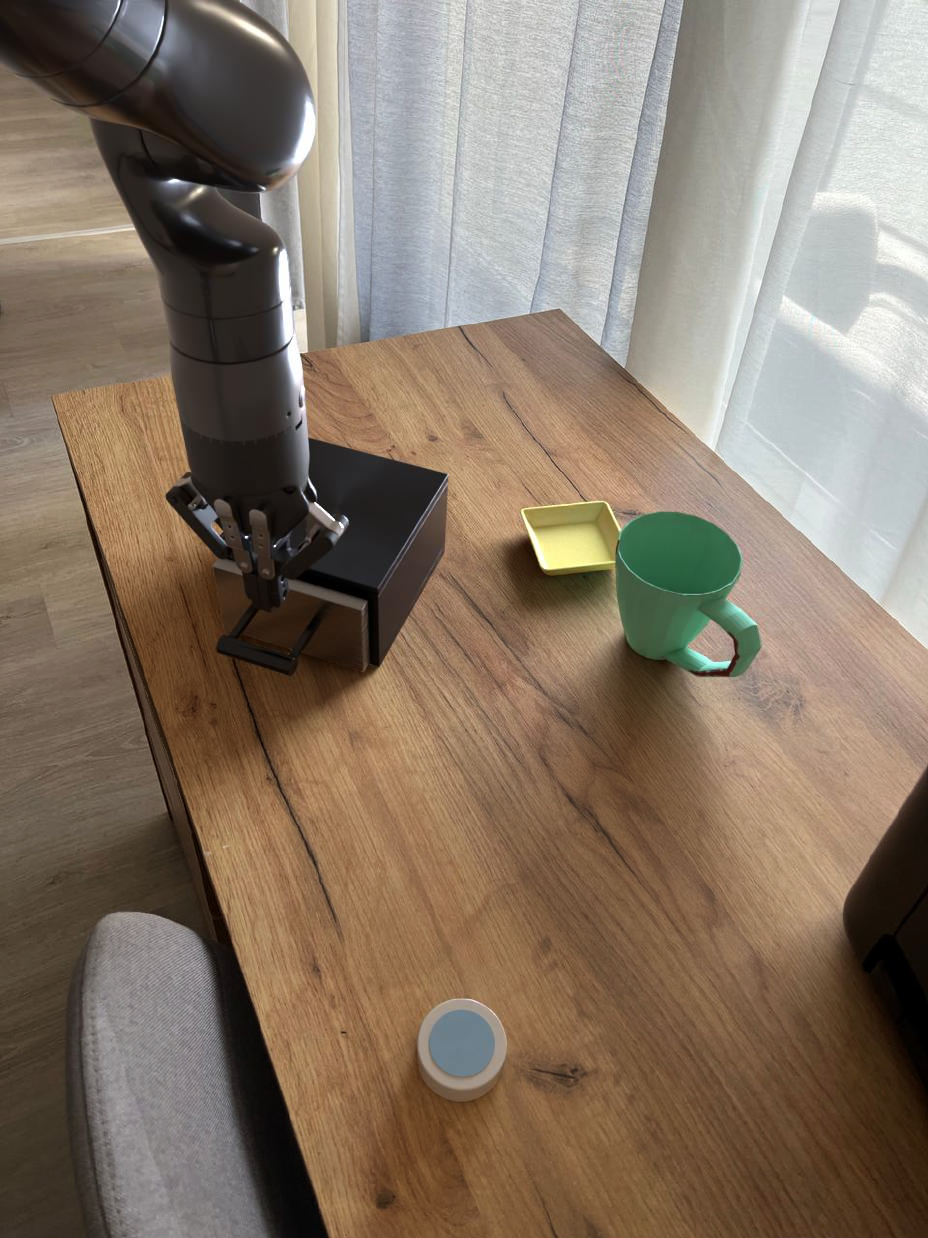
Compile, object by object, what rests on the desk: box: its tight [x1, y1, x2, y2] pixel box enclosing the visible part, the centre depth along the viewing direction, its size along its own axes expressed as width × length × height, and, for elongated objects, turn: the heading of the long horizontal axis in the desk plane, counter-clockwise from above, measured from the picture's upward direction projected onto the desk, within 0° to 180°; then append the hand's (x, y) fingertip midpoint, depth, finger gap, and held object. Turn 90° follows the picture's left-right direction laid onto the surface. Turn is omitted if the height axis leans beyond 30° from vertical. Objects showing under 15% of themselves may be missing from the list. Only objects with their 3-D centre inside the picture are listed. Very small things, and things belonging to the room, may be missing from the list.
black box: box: [219, 436, 449, 668], centre depth 81 cm, size 15×14×9 cm
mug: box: [614, 510, 763, 678], centre depth 76 cm, size 15×10×10 cm
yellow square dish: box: [519, 500, 622, 577], centre depth 88 cm, size 9×9×2 cm
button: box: [416, 998, 508, 1103], centre depth 56 cm, size 5×5×2 cm
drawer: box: [212, 557, 370, 677], centre depth 77 cm, size 20×12×7 cm, turn 160°
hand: (269, 602), depth 70 cm, fingers closed
